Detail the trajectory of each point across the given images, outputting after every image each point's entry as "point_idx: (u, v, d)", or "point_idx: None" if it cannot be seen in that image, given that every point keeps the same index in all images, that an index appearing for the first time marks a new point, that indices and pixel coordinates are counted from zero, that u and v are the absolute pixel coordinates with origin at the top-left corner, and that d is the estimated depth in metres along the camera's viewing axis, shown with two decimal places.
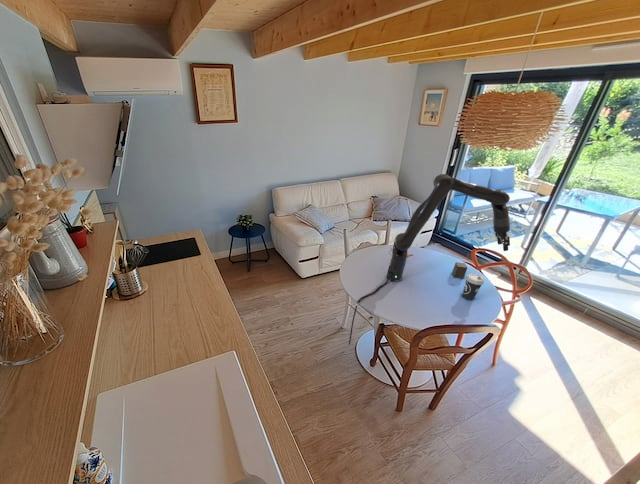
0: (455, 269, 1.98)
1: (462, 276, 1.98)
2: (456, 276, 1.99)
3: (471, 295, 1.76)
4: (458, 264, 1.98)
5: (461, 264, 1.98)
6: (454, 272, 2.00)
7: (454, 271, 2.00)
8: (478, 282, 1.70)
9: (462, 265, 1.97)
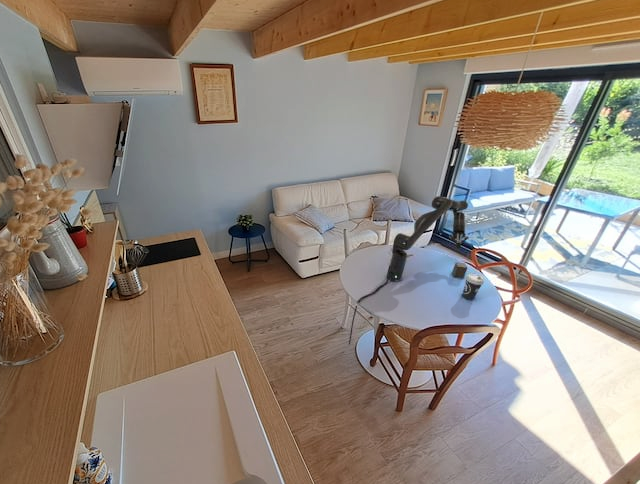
0: (455, 269, 1.98)
1: (462, 276, 1.98)
2: (456, 276, 1.99)
3: (471, 295, 1.76)
4: (458, 264, 1.98)
5: (461, 264, 1.98)
6: (454, 272, 2.00)
7: (454, 271, 2.00)
8: (478, 282, 1.70)
9: (462, 265, 1.97)
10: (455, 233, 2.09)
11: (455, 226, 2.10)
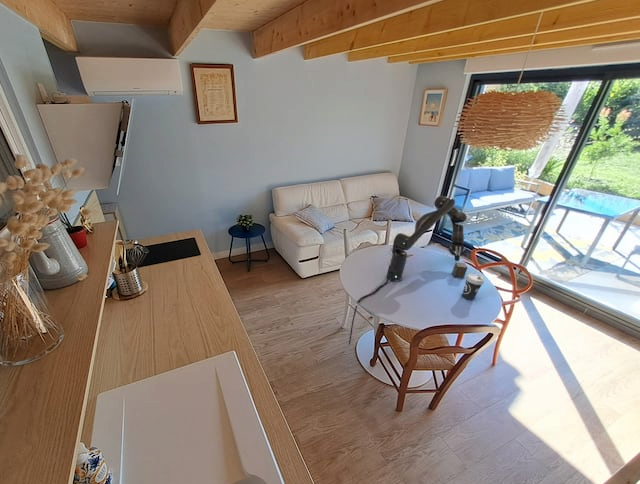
0: (455, 269, 1.98)
1: (462, 276, 1.98)
2: (456, 276, 1.99)
3: (471, 295, 1.76)
4: (458, 264, 1.98)
5: (461, 264, 1.98)
6: (454, 272, 2.00)
7: (454, 271, 2.00)
8: (478, 282, 1.70)
9: (462, 265, 1.97)
10: (454, 245, 2.08)
11: (454, 238, 2.09)
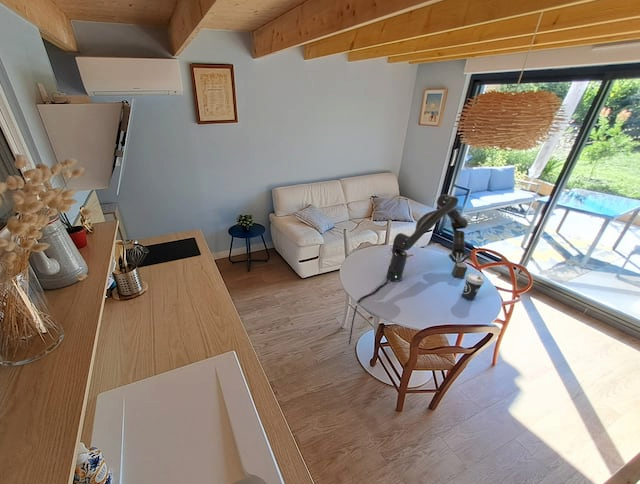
0: (455, 269, 1.98)
1: (462, 276, 1.98)
2: (456, 276, 1.99)
3: (471, 295, 1.76)
4: (458, 264, 1.98)
5: (461, 264, 1.98)
6: (454, 272, 2.00)
7: (454, 271, 2.00)
8: (478, 282, 1.70)
9: (462, 265, 1.97)
10: (455, 252, 2.05)
11: (455, 245, 2.05)
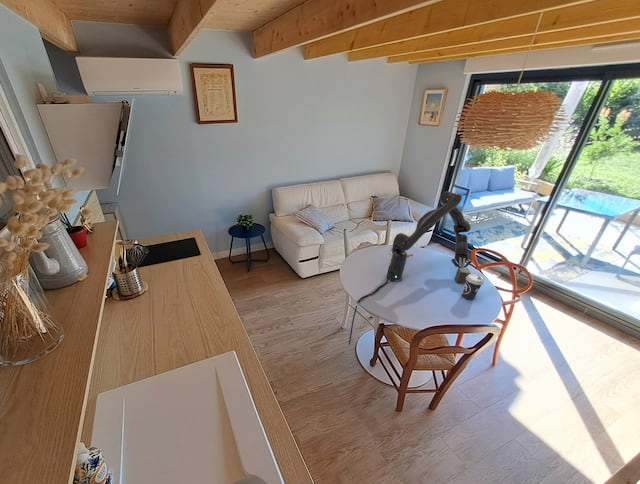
0: (458, 274, 1.92)
1: None
2: (459, 282, 1.93)
3: (471, 295, 1.76)
4: (461, 269, 1.92)
5: (464, 269, 1.92)
6: (457, 278, 1.94)
7: (457, 277, 1.94)
8: (478, 282, 1.70)
9: (466, 270, 1.91)
10: (457, 257, 1.99)
11: (457, 249, 1.99)
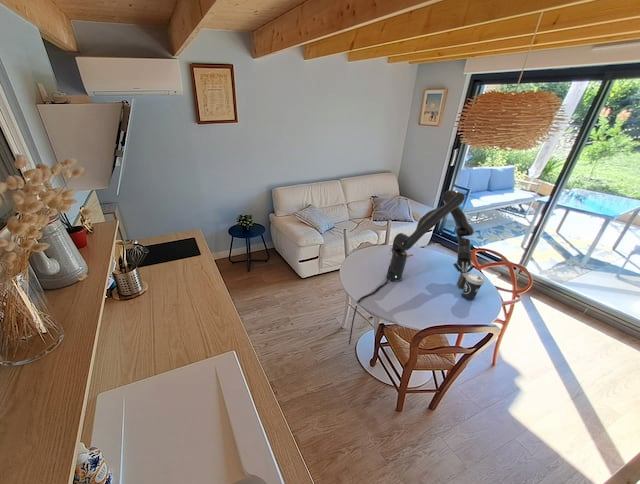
0: (461, 279, 1.87)
1: None
2: (462, 287, 1.88)
3: (471, 295, 1.76)
4: (464, 274, 1.87)
5: (467, 274, 1.87)
6: (460, 283, 1.89)
7: (460, 282, 1.89)
8: (478, 282, 1.70)
9: None
10: (460, 261, 1.94)
11: (460, 254, 1.94)
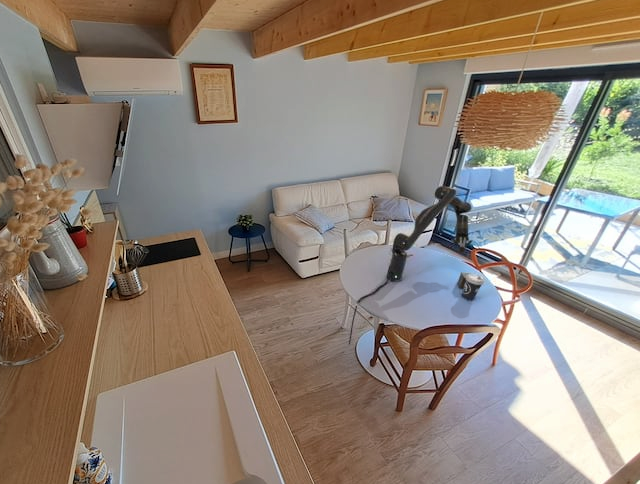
0: (461, 279, 1.87)
1: None
2: (462, 287, 1.88)
3: (471, 295, 1.76)
4: (464, 274, 1.87)
5: (467, 274, 1.87)
6: (460, 283, 1.89)
7: (460, 282, 1.89)
8: (478, 282, 1.70)
9: None
10: (458, 237, 2.00)
11: (458, 229, 2.00)
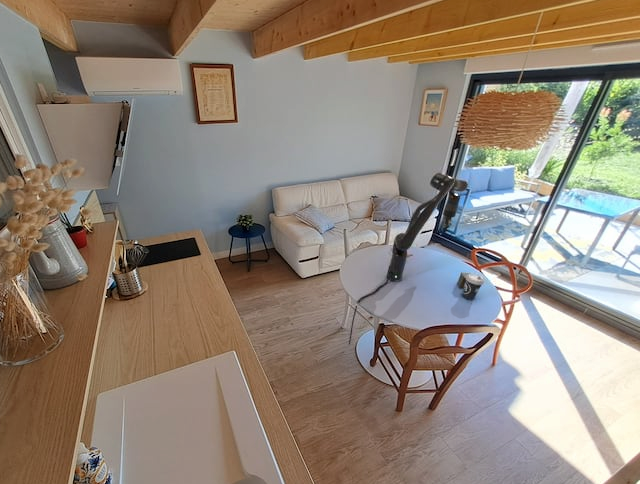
0: (461, 279, 1.87)
1: None
2: (462, 287, 1.88)
3: (471, 295, 1.76)
4: (464, 274, 1.87)
5: (467, 274, 1.87)
6: (460, 283, 1.89)
7: (460, 282, 1.89)
8: (478, 282, 1.70)
9: None
10: None
11: (454, 212, 1.91)
